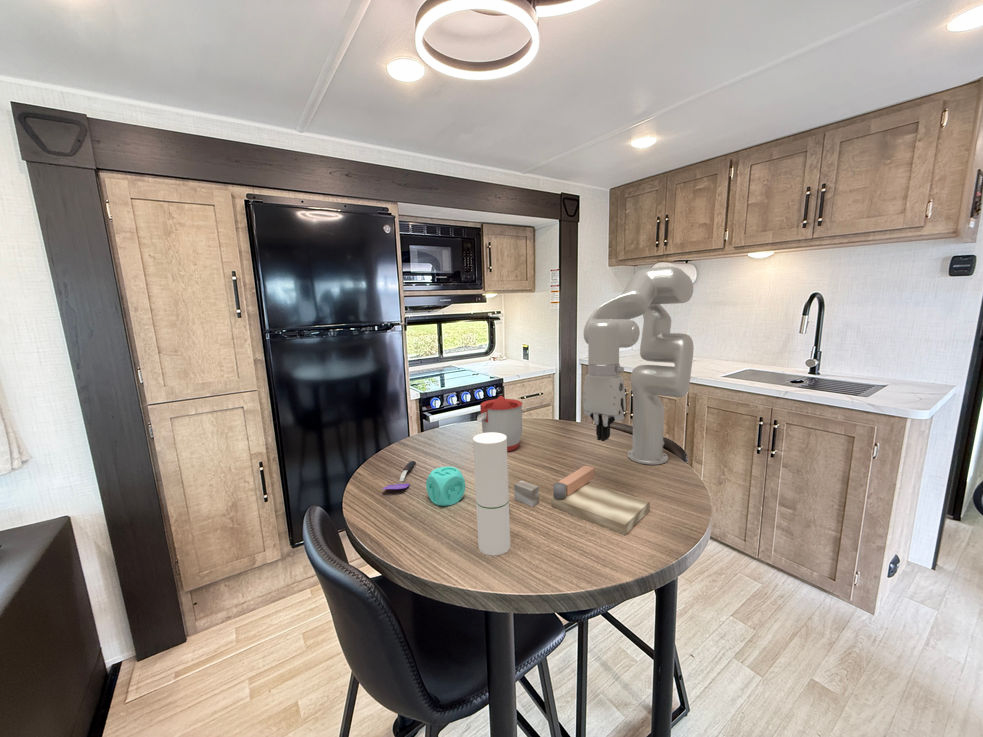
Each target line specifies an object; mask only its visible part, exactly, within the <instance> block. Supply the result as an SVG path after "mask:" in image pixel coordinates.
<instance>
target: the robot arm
mask: <svg viewBox="0 0 983 737" xmlns="http://www.w3.org/2000/svg"><path fill="white" fill-rule="evenodd" d="M693 294H694V283H693V280H692V279H691V277H690V276H689V274H687V273H686V272H685V271H684V270H683V269H681V268H679V267H676V266H661V267H660V266H659V267H651V268H643V269H640V270H638V271H636V272H634V274H633V275H632V277H631V278H630V280H629V282H628V283H627V284H626V286H625V288H624V290H622V293H621V294H620V295H617V296H615V297H614V298H611V299H609V300H607V301H605V303H602V304H601V305H599V306H598V307H596V309H595V310H594V311H593V312H592V313H591V314H590V316H589V317H588V319H587V321H586V322H585V326H584V328H583V339H584V342H585V343H586V344H587V347H588V350H587V352H588V354H587V358H588V360H587V361H588V363H587V365H588V366H587V369H588V370H587V371H588V373H587V374H586V375H585V378H584V385H583V392H582V394H583V395H582V407H583V414H584V415H585V416H587V417H590V418H591V420H592V421H593V422H594V423H593V424H594V425H595V426H596V429H595V430H596V431H595V432H596V433H595V434H596V439H597V441H601V442H605V441H607V440H609V438H610V437H611V425H612V424H613V423H614V422H620V421H623V420H625V415H624V413H625V412H626V410H627V409H626V407H627V404H626V402H627V401H626V389H625V383H624V378H623V375H620V374H621V373H624V372H625V368H624V366H620V365H621V364H620V348H621V349H623V348H624V349H627V348H631V347H632V346H634V345H636V343H638V340H639V338H641V339H640V345H639V354H640V355H639V356H640V358H641V359H642V360H644V361H647V362H653V363H670V364H674V366H672V365H671V366H670V365H669V366H667V365H657V364H641V365H638V366H636V367H634V368H633V369H632V371H631V372H630V386H631V391H632V409H633V410H632V449H629V450H628V451H627V458H628V459H629V458H630V459H629V460H631V461H633V462H635V463H639V464H643V465H653V466H654V465H663V464H665V463H667V462H668V460H669V456H668V454H667V453H665V452H664V445H665V441H664V430H665V429H664V425H665V423H664V422H665V407H664V404H663V402H662V401H661V398H660V397H659V396H661V397H663V396H664V397H670V398H682V397H685V396H686V395H687V394H688V391H689V389H690V384H691V383H690V382H691V374H692V366H693V359H694V342H693V339H692V337H691V336H690V335H689V334H687V333H681V332H678V333H677V332H675V333H674V332H671V328H672V318H671V316H670V314H669V313H668V311H667V310H666V309H665V308H664V307H663V306H662V305H673V304H674V305H675V304H686V303H687V302H689V301H690V300H692V297H693ZM640 316H643V323H642V324H643V326H642V333H641V331H640V326H639V325H638V323H637V322H636V321H635V320H634V319H636V318H638V317H640ZM632 319H633V320H632ZM640 333H641V337H640Z"/></svg>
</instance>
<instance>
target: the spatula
mask: <svg viewBox="0 0 983 737" xmlns="http://www.w3.org/2000/svg"><path fill="white" fill-rule="evenodd" d="M416 463H417V461H415V460H411V461H409V462H408V463H406V465H405V467H404V468H403V469H402V473H401V474H400V477H399V481H404V482H405V478H406V476H407V473H409V472H410V470H412V469H413V468H414V467H415V465H416ZM394 484H395V485H391V484H388V485H387V486H385V487H383V488H382V490H401V489H407V488H408V487H409V484H410V483H394ZM396 484H397V485H396Z"/></svg>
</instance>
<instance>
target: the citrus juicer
mask: <svg viewBox="0 0 983 737" xmlns="http://www.w3.org/2000/svg"><path fill="white" fill-rule="evenodd" d="M522 406H523V402H522V401H521V400H518V399H512V398H505V397H504V396H503V395H499V396H498V397H497V398H494V399H489V400H485V401H482V402H481V403H480V414H478V415H477V418H476V420H477V422H478V423H481V428H482V429H481V430H482V433H488V432H496V433H502V434H504V435H506V437H507V452H511V451H514V450H516V449H518V447H519V446H520V443H521V438H522V434H523V433H522V432H523V413H522V412H523V410H522V409H523V407H522Z"/></svg>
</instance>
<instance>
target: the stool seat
mask: <svg viewBox="0 0 983 737" xmlns="http://www.w3.org/2000/svg"><path fill="white" fill-rule="evenodd" d="M513 489H514V491H513V492H514V500H515V501H516V502H520V503H521V504H525V505H527V506H529V507H534V506H536V505H537V504H538V503H539V502H540V500H539V499H540V496H539V493H540V492H539V491H540V490H539V485H535V484H532V483H530V482H527V481H524V480H520V481H517V482H516V483H514V484H513ZM650 503H651V501H649V500H648V499H647V500H646V499H645V498H644V499H643V498H640V497H637V496H634V495H631V494H628V493H625V492H621V491H618V490H614V489H612V488H608V487H605V486H602V485H599V484H596V483H592V482H591V481H589V482H588V483H586V484H585V485H583V486H582V487H580V488H579V489H577V490H576V491H574V492H573V493H571V494H570V495H568V496H567V495H566V498H564V499H556V498H554V496H552V497H551V508H554V509H557V510H559V511H561V512H562V511H563V512H565V513H567V514H570V515H572V516H575V517H577V518H580V519H582V520H585V521H588V522H591V523H593V524H595V525H598V526H600V527H602V528H605V529H608V530H611V531H613V532H616V533H619V534H621V535H624V536H626V535H627V534H628V533H629V532H630V531H631V530H632V528H634V527H635V526H636V524H638V523H639V521H641V520H642V519H643V517H644V516H646V515H647V514H648V512H650V509H651V508H650V505H651V504H650Z"/></svg>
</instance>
